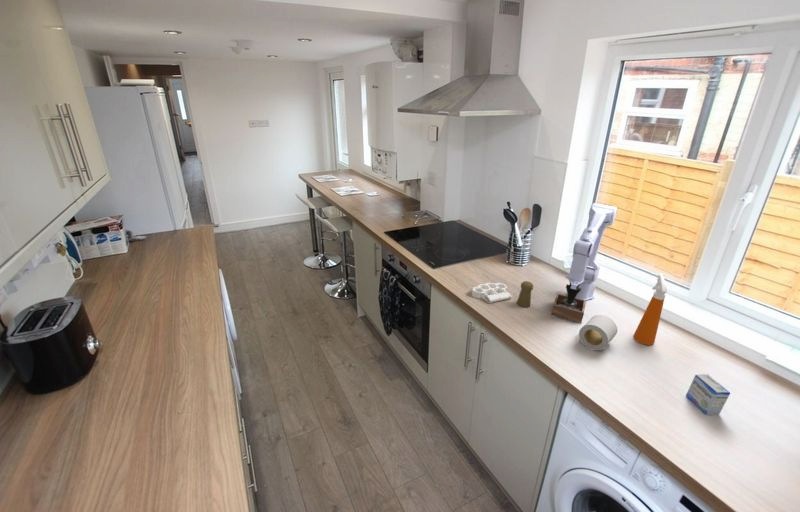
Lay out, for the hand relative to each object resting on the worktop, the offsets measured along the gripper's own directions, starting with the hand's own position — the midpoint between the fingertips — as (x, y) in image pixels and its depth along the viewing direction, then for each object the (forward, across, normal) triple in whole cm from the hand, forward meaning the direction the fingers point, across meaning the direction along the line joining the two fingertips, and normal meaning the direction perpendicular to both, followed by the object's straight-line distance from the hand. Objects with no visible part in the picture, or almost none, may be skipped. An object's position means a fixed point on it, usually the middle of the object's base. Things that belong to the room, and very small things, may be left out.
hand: (571, 297), depth 156 cm
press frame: (+8, 0, 0) cm, 8 cm away
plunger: (+8, 0, 0) cm, 8 cm away
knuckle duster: (+8, +2, -33) cm, 34 cm away
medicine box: (+8, +36, +42) cm, 56 cm away
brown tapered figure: (+8, +3, -18) cm, 20 cm away
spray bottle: (+8, +4, +28) cm, 29 cm away
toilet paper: (+8, +18, +12) cm, 23 cm away
